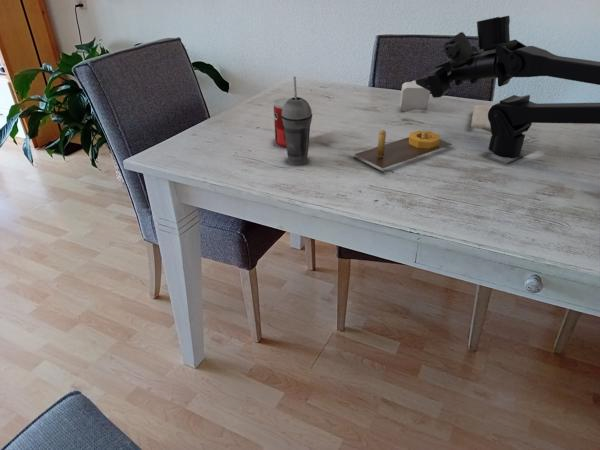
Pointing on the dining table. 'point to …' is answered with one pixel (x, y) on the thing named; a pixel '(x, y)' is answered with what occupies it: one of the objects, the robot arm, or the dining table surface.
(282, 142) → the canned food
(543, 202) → the dining table surface
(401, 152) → the peg rack
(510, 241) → the dining table surface
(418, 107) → the grey block
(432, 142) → the ring
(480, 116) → the washcloth
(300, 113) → the beverage cup
